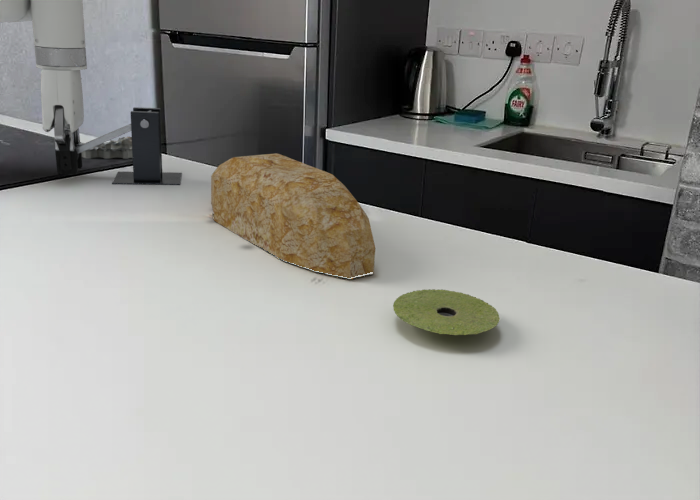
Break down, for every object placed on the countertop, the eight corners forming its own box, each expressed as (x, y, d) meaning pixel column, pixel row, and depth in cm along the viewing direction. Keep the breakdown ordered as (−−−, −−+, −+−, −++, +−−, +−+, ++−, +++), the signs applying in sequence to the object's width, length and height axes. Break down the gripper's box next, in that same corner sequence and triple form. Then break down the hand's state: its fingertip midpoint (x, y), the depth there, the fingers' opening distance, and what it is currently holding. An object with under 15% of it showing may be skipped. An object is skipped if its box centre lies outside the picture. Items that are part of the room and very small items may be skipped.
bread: (191, 207, 107) (190, 144, 104) (252, 199, 114) (253, 139, 110) (324, 286, 81) (329, 205, 78) (393, 270, 87) (400, 194, 84)
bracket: (112, 190, 114) (107, 112, 109) (118, 178, 121) (114, 105, 117) (180, 190, 116) (178, 115, 111) (182, 178, 123) (180, 107, 119)
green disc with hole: (408, 354, 67) (410, 336, 66) (380, 305, 77) (381, 289, 76) (515, 349, 69) (518, 331, 68) (473, 302, 79) (475, 287, 79)
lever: (62, 168, 113) (52, 151, 112) (66, 164, 116) (56, 146, 115) (157, 128, 114) (148, 110, 113) (158, 124, 117) (150, 107, 115)
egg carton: (138, 156, 138) (137, 136, 136) (135, 164, 131) (134, 143, 129) (82, 155, 135) (80, 134, 134) (76, 163, 129) (74, 142, 127)
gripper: (47, 53, 116) (56, 159, 122) (23, 62, 100) (34, 183, 107) (94, 55, 117) (100, 160, 123) (76, 64, 102) (85, 184, 108)
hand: (70, 170), depth 115 cm, fingers closed on lever, 3 cm apart
